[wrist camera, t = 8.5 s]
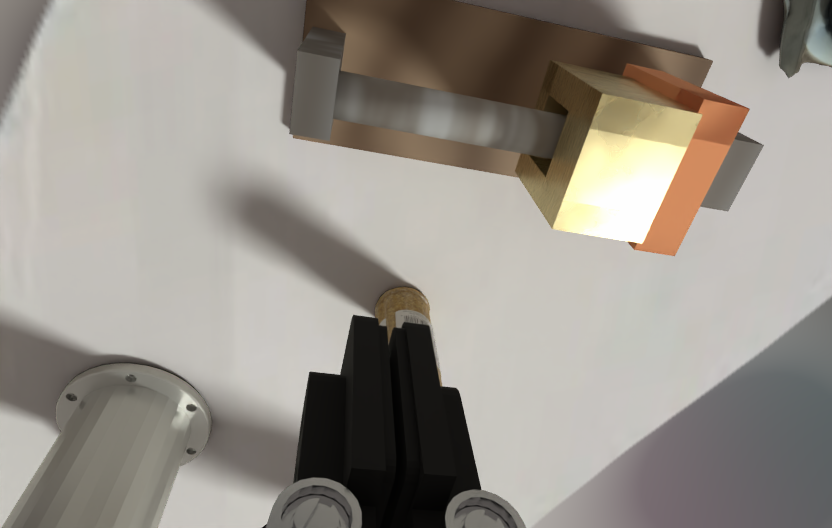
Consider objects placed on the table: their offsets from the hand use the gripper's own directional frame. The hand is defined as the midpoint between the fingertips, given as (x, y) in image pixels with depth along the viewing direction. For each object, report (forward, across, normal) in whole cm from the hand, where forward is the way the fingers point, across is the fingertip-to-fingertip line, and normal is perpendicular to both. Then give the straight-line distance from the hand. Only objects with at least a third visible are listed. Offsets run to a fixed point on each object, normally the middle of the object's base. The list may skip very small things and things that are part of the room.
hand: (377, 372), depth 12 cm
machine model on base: (+27, -9, -2) cm, 29 cm away
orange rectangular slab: (+23, -16, -2) cm, 28 cm away
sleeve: (+23, -12, -2) cm, 26 cm away
